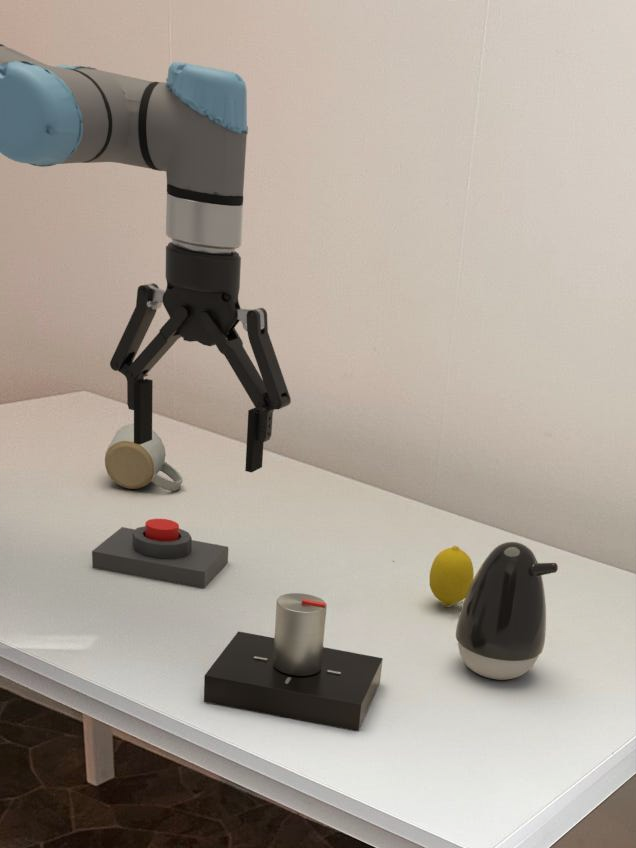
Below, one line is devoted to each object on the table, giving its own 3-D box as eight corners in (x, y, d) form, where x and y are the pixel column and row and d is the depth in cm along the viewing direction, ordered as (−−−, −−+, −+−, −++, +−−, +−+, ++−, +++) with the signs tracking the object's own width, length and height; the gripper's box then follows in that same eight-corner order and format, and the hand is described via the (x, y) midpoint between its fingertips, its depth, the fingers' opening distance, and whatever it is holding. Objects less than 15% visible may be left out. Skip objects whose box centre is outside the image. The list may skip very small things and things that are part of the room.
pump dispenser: (514, 699, 131) (538, 567, 123) (434, 669, 135) (453, 539, 127) (554, 672, 139) (579, 547, 131) (477, 644, 143) (497, 520, 134)
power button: (140, 539, 145) (140, 525, 144) (151, 530, 148) (151, 516, 147) (172, 545, 145) (172, 531, 144) (183, 535, 148) (183, 522, 147)
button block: (92, 568, 144) (91, 536, 142) (122, 543, 153) (121, 513, 151) (204, 589, 144) (205, 557, 142) (228, 563, 153) (229, 532, 150)
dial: (267, 671, 121) (271, 603, 117) (279, 652, 125) (283, 586, 121) (315, 679, 121) (320, 612, 117) (325, 660, 125) (331, 595, 121)
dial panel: (203, 702, 120) (204, 673, 118) (237, 656, 130) (238, 629, 128) (358, 731, 119) (361, 703, 118) (379, 683, 130) (383, 656, 128)
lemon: (452, 596, 155) (460, 537, 150) (477, 612, 151) (486, 552, 147) (417, 600, 152) (425, 540, 147) (441, 617, 148) (450, 555, 144)
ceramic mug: (102, 488, 169) (102, 433, 165) (113, 471, 176) (113, 419, 172) (177, 498, 171) (179, 445, 167) (185, 482, 178) (187, 430, 174)
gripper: (331, 267, 122) (314, 473, 133) (113, 220, 126) (115, 424, 137) (301, 273, 116) (286, 488, 127) (74, 223, 120) (79, 436, 131)
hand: (197, 455), depth 132 cm, fingers open, 13 cm apart
